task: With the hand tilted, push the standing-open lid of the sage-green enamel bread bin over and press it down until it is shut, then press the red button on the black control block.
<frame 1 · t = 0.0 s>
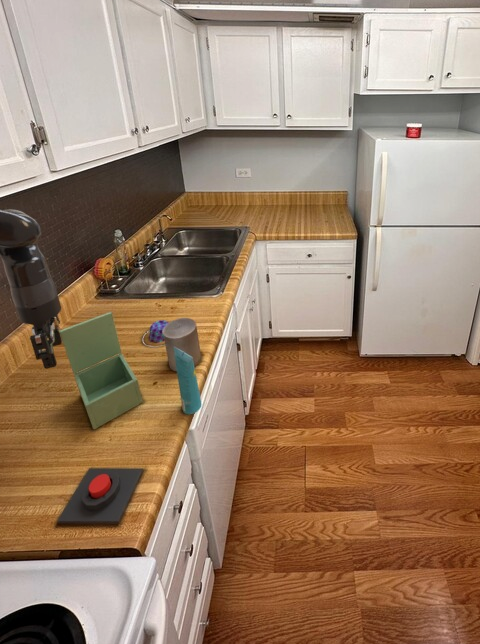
hand: (54, 355, 80), 21 cm above the counter, tool pointing down, fingers open, 8 cm apart
breadbin: (112, 401, 92), on the counter
button block: (104, 498, 70), on the counter
lid: (92, 342, 90), point 17 cm above the counter, hinge at 84.8°, touching gripper
pillar candle: (185, 362, 106), on the counter
button: (100, 485, 68), point 4 cm above the counter, slide at 0.1 cm
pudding: (161, 337, 117), on the counter
tube: (192, 408, 90), on the counter
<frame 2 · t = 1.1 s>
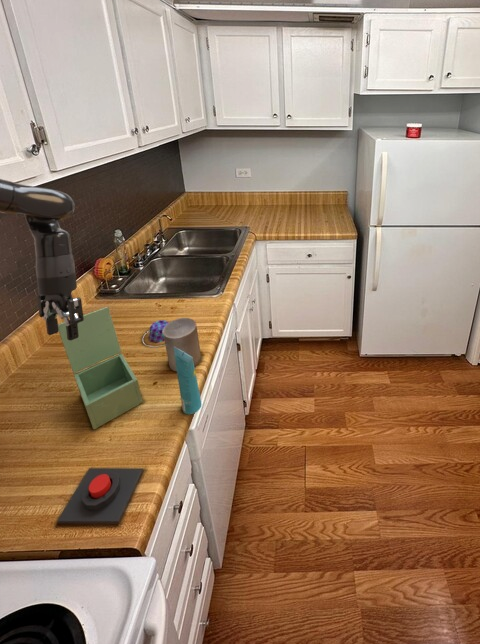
hand: (62, 336, 83), 23 cm above the counter, tool tilted 15°, fingers open, 8 cm apart
lid: (91, 339, 91), point 17 cm above the counter, hinge at 99.7°, touching gripper
everything else where it was.
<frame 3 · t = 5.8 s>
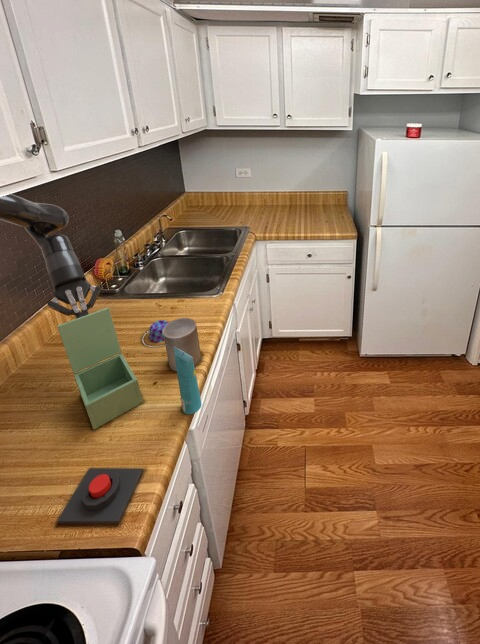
hand: (85, 325, 91), 21 cm above the counter, tool tilted 45°, fingers closed
lid: (91, 339, 91), point 17 cm above the counter, hinge at 96.5°
everything else where it was.
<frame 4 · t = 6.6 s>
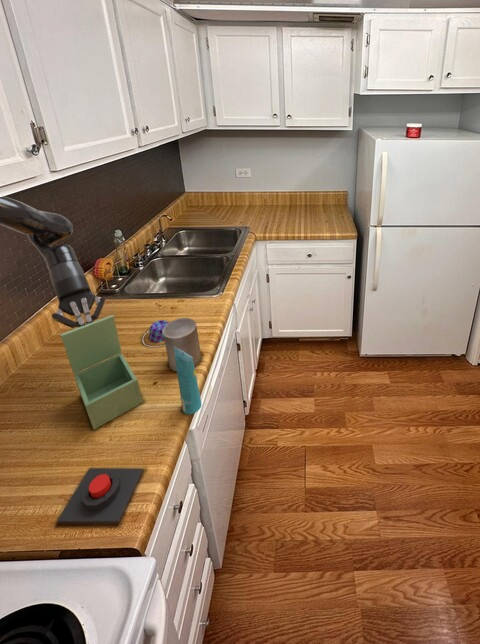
hand: (90, 337, 89), 19 cm above the counter, tool tilted 45°, fingers closed
lid: (93, 344, 90), point 17 cm above the counter, hinge at 78.6°, touching gripper
everything else where it was.
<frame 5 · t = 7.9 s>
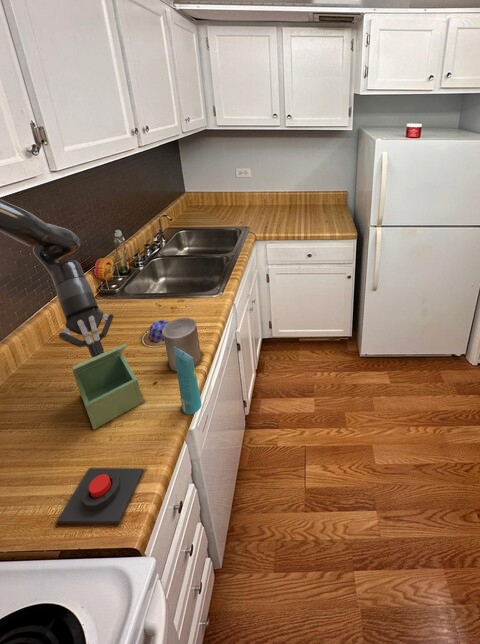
hand: (99, 356, 86), 16 cm above the counter, tool tilted 45°, fingers closed
lid: (99, 359, 88), point 14 cm above the counter, hinge at 40.4°, touching gripper
everything else where it was.
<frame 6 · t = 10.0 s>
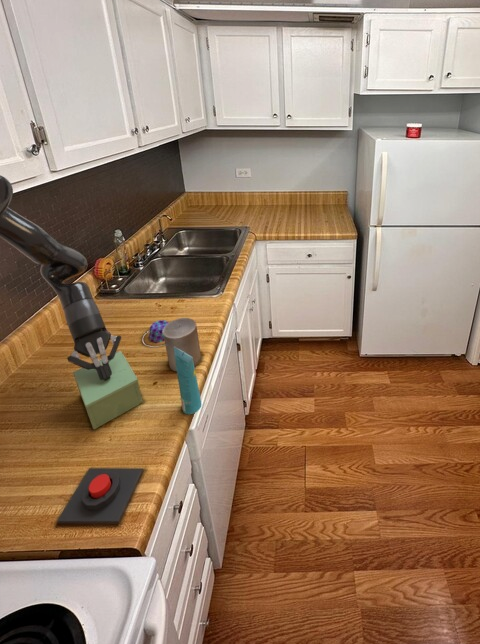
hand: (107, 379, 86), 10 cm above the counter, tool tilted 45°, fingers closed
lid: (105, 376, 88), point 9 cm above the counter, hinge at -0.2°, touching breadbin, gripper
everything else where it was.
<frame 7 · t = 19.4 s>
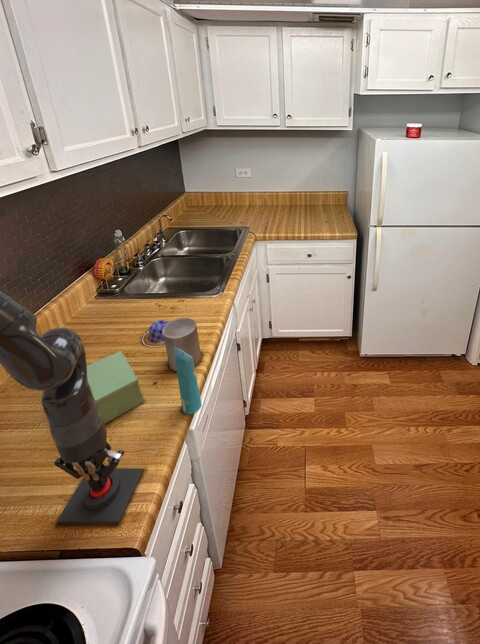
hand: (100, 486, 68), 4 cm above the counter, tool pointing down, fingers closed
lid: (105, 376, 88), point 9 cm above the counter, hinge at -0.2°, touching breadbin
button: (101, 488, 69), point 3 cm above the counter, slide at -0.8 cm, touching gripper
everything else where it was.
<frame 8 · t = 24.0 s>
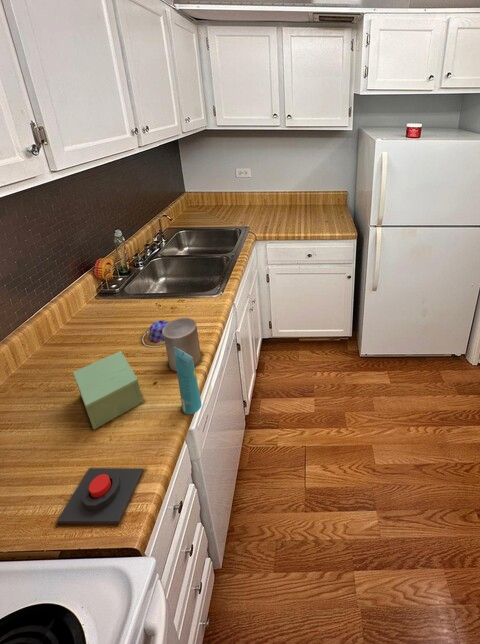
button: (100, 485, 68), point 4 cm above the counter, slide at 0.1 cm
everything else where it was.
at the end: lid at +0° (first picture: +85°); button pushed in 1.1 cm at the most during the clip, back to where it started at the end; button slide at 0.1 cm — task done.
